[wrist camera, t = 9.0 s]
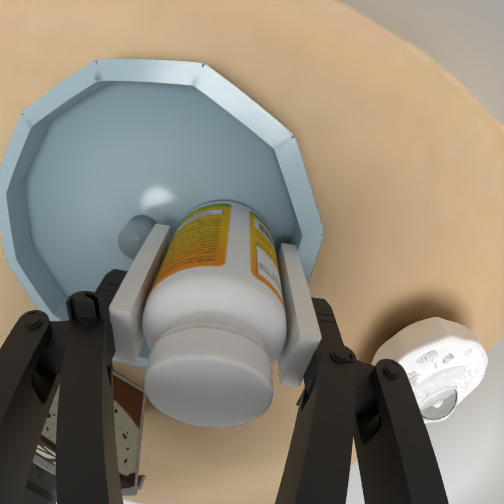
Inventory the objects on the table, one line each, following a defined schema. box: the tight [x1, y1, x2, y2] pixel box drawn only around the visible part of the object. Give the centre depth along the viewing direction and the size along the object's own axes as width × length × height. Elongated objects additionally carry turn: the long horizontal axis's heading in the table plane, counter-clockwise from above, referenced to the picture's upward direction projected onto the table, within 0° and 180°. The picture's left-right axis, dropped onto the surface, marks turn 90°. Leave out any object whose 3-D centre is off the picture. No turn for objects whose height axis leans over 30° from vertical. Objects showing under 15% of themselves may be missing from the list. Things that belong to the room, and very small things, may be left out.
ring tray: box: [0, 59, 324, 368], centre depth 16 cm, size 18×18×3 cm
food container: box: [33, 371, 146, 496], centre depth 20 cm, size 12×6×10 cm, turn 44°
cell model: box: [371, 317, 488, 424], centre depth 20 cm, size 10×12×7 cm
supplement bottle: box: [142, 201, 287, 428], centre depth 13 cm, size 5×5×10 cm
